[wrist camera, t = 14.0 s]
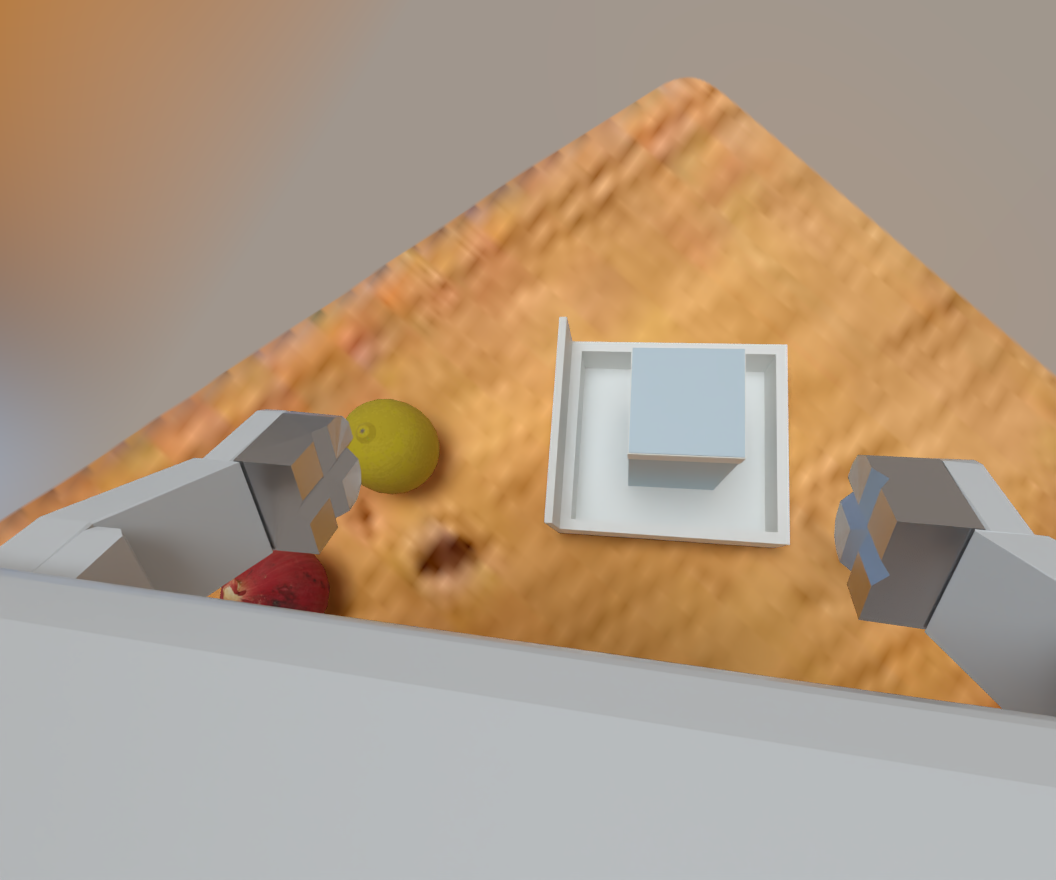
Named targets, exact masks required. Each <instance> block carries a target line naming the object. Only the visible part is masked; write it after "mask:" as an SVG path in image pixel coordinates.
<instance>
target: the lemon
mask: <svg viewBox="0 0 1056 880" xmlns="http://www.w3.org/2000/svg"><path fill="white" fill-rule="evenodd" d="M346 420H347V421H348V422H349V425H350V428H351V432H352V435H353V439H352V441H351V443H350V444H349V446H348V449H349V450H350V451H351V452H352V453H353V454H354V455H355V456H356V457H357V458H358V460H359V464H360V469H361V484H362V485H363V486H365V487H367V488H369V489H371V490H374V491H376V492H380V493H387V494H397V493H405V492H408V491H410V490H413V489H415V488H417V487H419V486H420V485H421V484H423V483H424V482H425V481H426V480H427V479H428V478H429V477H430V476H431V474H432V473H433V471H434V469H435V467H436V465H437V462H438V458H439V440H438V436H437V432H436V430H435V429H434V427H433V425H432V423H431V422H430V420H429V419H428V418H427V417H426V416H425V415H424V414H423V413H422V412H421V411H420V410H418V409H416V408H415V407H413V406H411V405H409V404H407V403H405V402H401V401H397V400H393V399H377V400H373V401H370V402H366V403H364V404H362V405H360V406H358V407H357V408H356V409H354V410H353V411H352V412H351V413H350V414H349V415H348V417H347V418H346Z"/></svg>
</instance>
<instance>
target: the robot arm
mask: <svg viewBox="0 0 1056 880" xmlns="http://www.w3.org/2000/svg"><path fill="white" fill-rule="evenodd" d="M352 439H353V435H352V432H351V428H350V425H349V422H348V421H347V420H346V419H345V418H343V417H342V416H336V415H325V414H315V413H304V412H294V411H291V412H289V411H284V410H267V409H266V410H258V411H256V412H255V413H254V414H253V415H252V416H251V417H249V418H248V419H247V420H246V421H245V422H244V423H243V424H241V425H240V426H239V427H238V428H237V429H236V430H235V431H234V432H232V433H231V434H230V435H229V436H228V437H227V438H226V439H224V440H223V441H222V442H221V443H220V444H219V445H218V446H216V447H215V448H214V449H213V450H212V451H211V452H210V453H208V454H207V455H206V456H205V457H204V458H203V459H202V458H193V459H190V460H188V461H185V462H183V463H180V464H177V465H175V466H172V467H169V468H167V469H164V470H162V471H159V472H156V473H154V474H151V475H148V476H146V477H143V478H141V479H138V480H135V481H133V482H130V483H128V484H125V485H122V486H120V487H117V488H114V489H112V490H109V491H107V492H104V493H101V494H99V495H96V496H93V497H91V498H88V499H86V500H83V501H80V502H78V503H75V504H73V505H70V506H67V507H65V508H62V509H59V510H57V511H54V512H52V513H49V514H46V515H44V516H41V517H39V518H38V519H36V520H35V521H34V522H32V523H31V524H30V525H28V526H27V527H26V528H24V529H23V530H22V531H20V532H19V533H18V534H16V535H15V536H14V537H12V538H11V539H10V540H8V541H7V542H6V543H4V544H3V545H2V546H0V880H1056V540H1054V539H1052V538H1050V537H1049V536H1040V535H1034V533H1033V532H1032V531H1031V529H1030V528H1029V526H1028V525H1027V524H1026V522H1025V521H1024V520H1023V518H1022V517H1021V516H1020V514H1019V513H1018V512H1017V510H1016V509H1015V508H1014V506H1013V505H1012V504H1011V502H1010V501H1009V499H1008V498H1007V497H1006V495H1005V494H1004V493H1003V491H1002V490H1001V489H1000V487H999V486H998V485H997V483H996V482H995V481H994V479H993V478H992V477H991V475H990V474H989V473H988V471H987V470H986V468H985V467H984V466H983V465H982V464H981V463H979V462H977V461H975V460H961V459H936V458H935V459H929V458H910V457H891V456H872V455H858V456H857V457H856V459H855V460H854V462H853V464H852V467H851V470H850V473H849V476H848V479H849V482H850V484H851V487H852V489H853V492H852V493H851V494H849V495H848V496H847V497H845V498H844V499H843V500H841V501H840V504H839V508H838V512H837V515H836V520H835V534H834V538H835V545H836V551H837V554H838V558H839V561H840V562H841V563H842V564H843V565H844V566H846V567H847V568H848V569H849V570H850V571H851V573H850V576H849V579H848V582H847V586H848V589H849V592H850V595H851V598H852V601H853V604H854V607H855V610H856V613H857V616H858V619H859V620H865V621H872V622H879V623H886V624H892V625H899V626H906V627H913V628H920V629H926V630H925V633H926V634H927V635H928V636H929V637H930V638H931V639H932V640H933V641H934V642H935V643H936V644H937V645H938V646H939V647H940V648H941V649H943V650H944V651H945V652H946V653H947V654H948V655H949V656H950V657H951V658H952V659H953V660H954V661H955V662H956V663H957V664H958V665H959V666H960V667H961V668H962V669H963V670H964V671H965V672H966V673H967V674H968V675H969V676H970V677H971V678H972V679H973V680H974V681H975V682H976V683H977V684H978V685H979V686H980V687H981V688H982V689H983V690H984V691H985V692H986V693H987V694H988V695H989V696H990V697H991V698H992V699H993V700H994V701H995V702H996V703H997V704H998V705H999V706H1000V707H1001V708H1002V709H998V708H991V707H984V706H977V705H970V704H962V703H955V702H948V701H940V700H933V699H926V698H918V697H911V696H904V695H897V694H889V693H882V692H875V691H868V690H861V689H854V688H847V687H840V686H833V685H826V684H819V683H812V682H805V681H798V680H791V679H784V678H777V677H770V676H763V675H756V674H749V673H742V672H735V671H727V670H720V669H713V668H706V667H699V666H692V665H685V664H678V663H671V662H664V661H657V660H650V659H643V658H636V657H629V656H622V655H615V654H608V653H601V652H594V651H587V650H580V649H573V648H566V647H558V646H551V645H544V644H537V643H530V642H523V641H516V640H508V639H501V638H494V637H487V636H480V635H473V634H465V633H458V632H451V631H444V630H437V629H430V628H423V627H415V626H408V625H401V624H394V623H387V622H380V621H373V620H366V619H358V618H351V617H344V616H337V615H330V614H323V613H316V612H309V611H302V610H295V609H288V608H281V607H274V606H266V605H259V604H252V603H245V602H238V601H231V600H224V599H217V598H210V597H207V596H208V595H210V594H211V593H213V592H214V591H216V590H217V589H219V588H220V587H222V586H223V585H225V584H226V583H228V582H229V581H231V580H232V579H234V578H235V577H237V576H238V575H240V574H241V573H243V572H244V571H246V570H247V569H249V568H250V567H252V566H253V565H255V564H256V563H258V562H259V561H261V560H262V559H264V558H265V557H267V556H268V555H270V554H271V553H273V550H278V551H289V552H300V553H311V554H320V553H321V551H322V550H323V548H324V547H325V546H326V544H327V543H328V541H329V540H330V538H331V537H332V536H333V534H334V533H335V531H336V530H337V528H338V525H337V522H336V518H337V517H339V516H340V515H342V514H344V513H346V512H348V511H350V509H351V508H352V506H353V505H354V503H355V502H356V500H357V498H358V494H359V490H360V486H361V469H360V464H359V460H358V458H357V457H356V456H355V455H354V454H353V453H352V452H351V451H350V450H349V449H348V446H349V444H350V443H351V441H352Z"/></svg>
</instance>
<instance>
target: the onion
mask: <svg viewBox="0 0 1056 880" xmlns="http://www.w3.org/2000/svg"><path fill="white" fill-rule="evenodd" d="M329 590H330V585H329V582H328V578H327V575H326V572H325V569H324V567H323V566H322V564H321V563H320V562H319V560H318V559H317V558H316V556H315V555H314V554H311V553H300V552H289V551H278V550H273V553H271V554H270V555H268V556H267V557H265V558H264V559H262V560H261V561H259V562H258V563H256V564H255V565H253V566H252V567H250V568H249V569H247V570H246V571H244V572H243V573H241V574H240V575H238V576H237V577H235V578H234V579H232V580H231V581H229V582H228V583H226V584H225V585H223V586H222V589H221V594H220V599H224V600H231V601H238V602H245V603H252V604H259V605H266V606H274V607H281V608H288V609H295V610H302V611H309V612H316V613H324V611H325V610H326V608H327V605H328V598H329Z"/></svg>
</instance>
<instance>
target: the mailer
mask: <svg viewBox="0 0 1056 880" xmlns="http://www.w3.org/2000/svg"><path fill="white" fill-rule="evenodd" d="M632 347H636V348H727V349H745V352H746V459H745V460H744V461H743V462H742V463H741V464H738V465H737V466H736V467H735V468H734V469H733V470H732V471H731V472H730V473H729V474H728V475H727V476H726V477H725V478H724V479H723V480H722V481H721V482H720V484H719V485H718V486H717V487H716V488H715V489H714V490H702V489H682V488H662V487H642V486H628V459H627V452H628V427H629V402H630V377H631V352H632ZM544 523H546V524H547V525H549V526H550V527H552V528H553V529H554V530H556V531H557V532H559V533H569V534H583V535H597V536H611V537H626V538H640V539H654V540H668V541H682V542H696V543H711V544H725V545H739V546H753V547H767V548H776V547H781V546H786V545H790V519H789V443H788V368H787V345H774V344H706V343H639V342H572V337H571V333H570V329H569V324H568V320H567V317H559V331H558V344H557V358H556V371H555V385H554V398H553V412H552V425H551V438H550V452H549V465H548V479H547V492H546V506H545V519H544Z"/></svg>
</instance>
